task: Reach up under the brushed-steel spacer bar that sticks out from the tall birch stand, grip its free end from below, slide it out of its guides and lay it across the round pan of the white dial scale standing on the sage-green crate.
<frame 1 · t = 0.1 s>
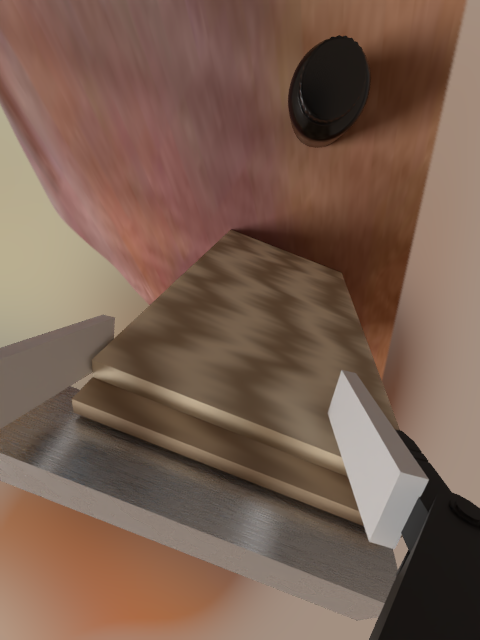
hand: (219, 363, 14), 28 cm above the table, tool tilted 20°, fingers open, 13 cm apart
supplement bottle: (321, 111, 28), on the table
spacer bar: (139, 431, 15), point 30 cm above the table, touching birch stand
birch stand: (273, 279, 40), on the table
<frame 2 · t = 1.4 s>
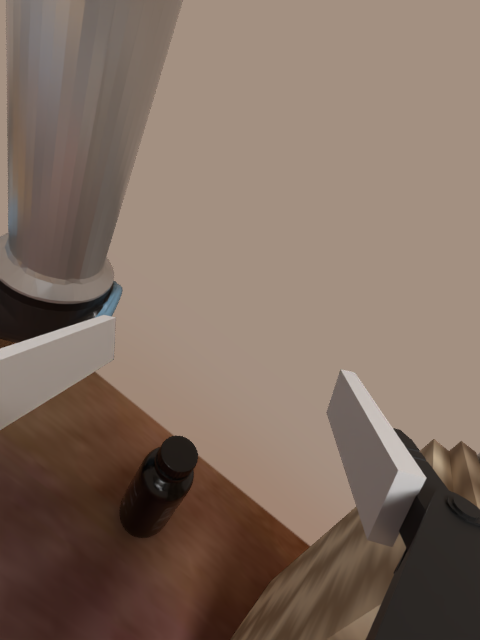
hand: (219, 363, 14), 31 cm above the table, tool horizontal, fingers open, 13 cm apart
supplement bottle: (143, 509, 34), on the table
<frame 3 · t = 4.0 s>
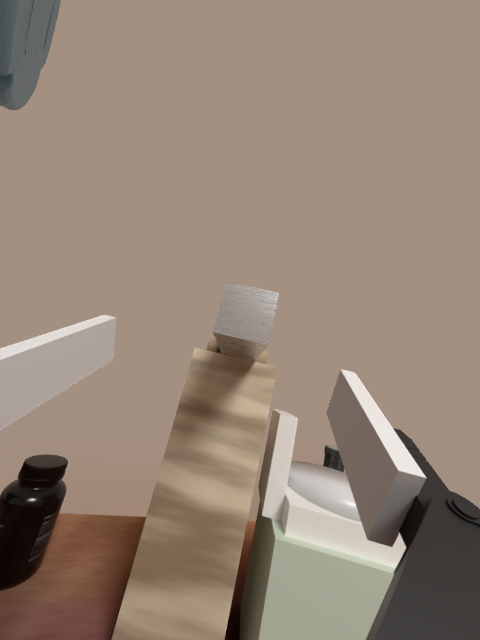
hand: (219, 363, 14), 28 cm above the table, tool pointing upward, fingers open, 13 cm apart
dial scale: (332, 519, 28), resting on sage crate
supplement bottle: (4, 571, 29), on the table
sauce bottle: (320, 566, 45), on the table
spacer bar: (238, 360, 32), point 30 cm above the table, touching birch stand
birch stand: (181, 606, 30), on the table
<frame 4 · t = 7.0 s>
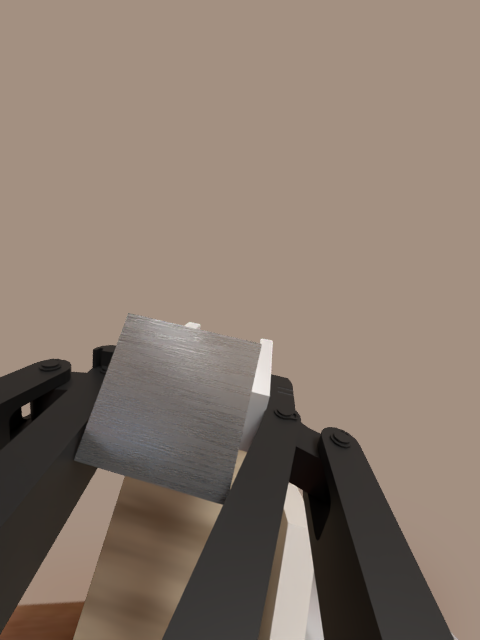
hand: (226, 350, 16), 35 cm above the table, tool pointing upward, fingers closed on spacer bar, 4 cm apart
spacer bar: (219, 415, 21), point 30 cm above the table, touching birch stand, gripper
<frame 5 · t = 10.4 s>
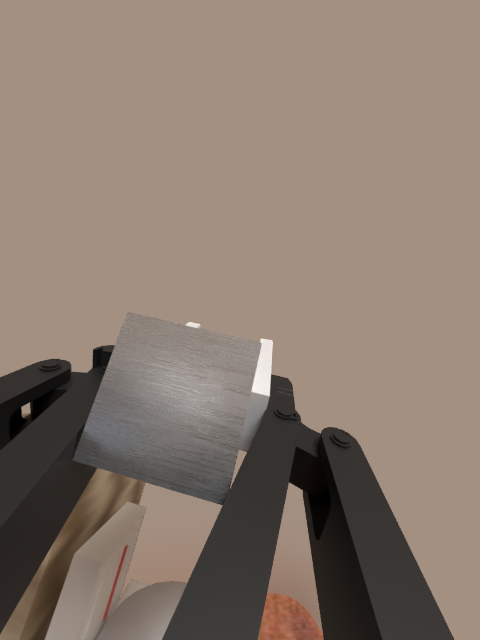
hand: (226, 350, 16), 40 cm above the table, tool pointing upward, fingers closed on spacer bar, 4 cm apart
spacer bar: (218, 415, 20), point 36 cm above the table, touching gripper
when the fingers open (25 cm above the table, at t = 13.8 s): spacer bar stays where it is, resting on dial scale.
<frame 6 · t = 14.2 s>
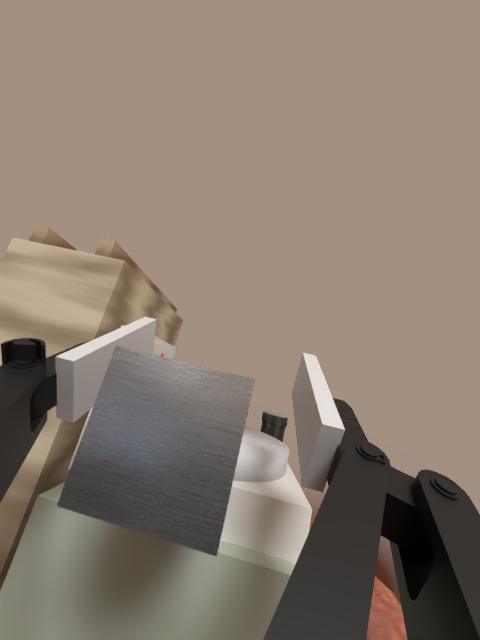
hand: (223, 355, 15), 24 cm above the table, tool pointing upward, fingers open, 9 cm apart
dial scale: (202, 482, 19), resting on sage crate
sauce bottle: (248, 557, 36), on the table
spacer bar: (216, 428, 20), point 19 cm above the table, touching dial scale
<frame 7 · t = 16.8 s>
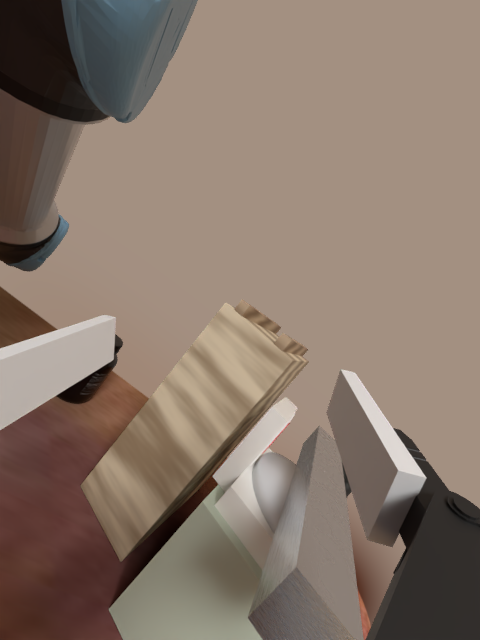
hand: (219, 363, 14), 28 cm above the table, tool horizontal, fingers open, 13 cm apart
dial scale: (280, 527, 27), resting on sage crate
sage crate: (196, 617, 28), on the table
supplement bottle: (70, 391, 43), on the table
spacer bar: (304, 501, 26), point 19 cm above the table, touching dial scale
birch stand: (150, 487, 38), on the table
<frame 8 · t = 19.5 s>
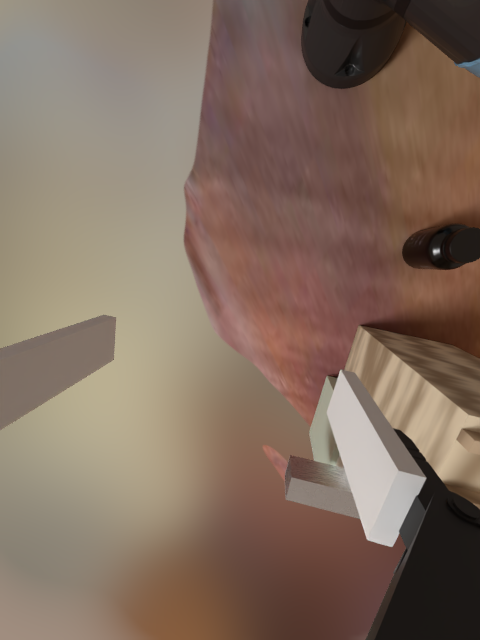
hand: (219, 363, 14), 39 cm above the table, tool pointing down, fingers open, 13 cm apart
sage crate: (351, 413, 55), on the table
supplement bottle: (420, 249, 46), on the table
spacer bar: (387, 490, 37), point 19 cm above the table, touching dial scale
birch stand: (395, 357, 51), on the table
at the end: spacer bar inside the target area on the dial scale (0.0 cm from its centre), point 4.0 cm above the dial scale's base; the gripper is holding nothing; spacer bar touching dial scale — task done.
